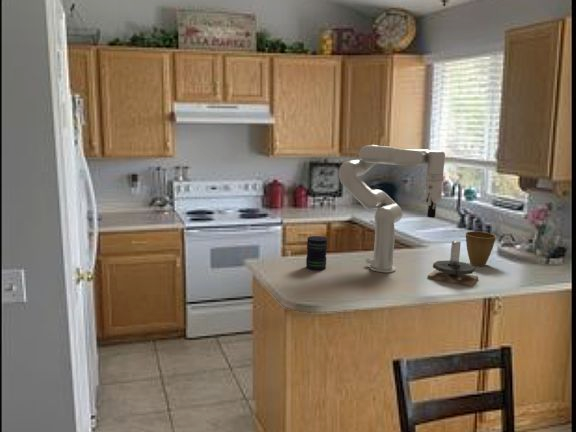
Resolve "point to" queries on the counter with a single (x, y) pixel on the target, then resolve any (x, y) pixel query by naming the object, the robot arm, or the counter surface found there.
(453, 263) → the steel pipe
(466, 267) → the grey petal ring
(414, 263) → the counter surface
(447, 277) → the base board
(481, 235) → the plant pot
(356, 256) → the counter surface
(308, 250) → the storage jar
